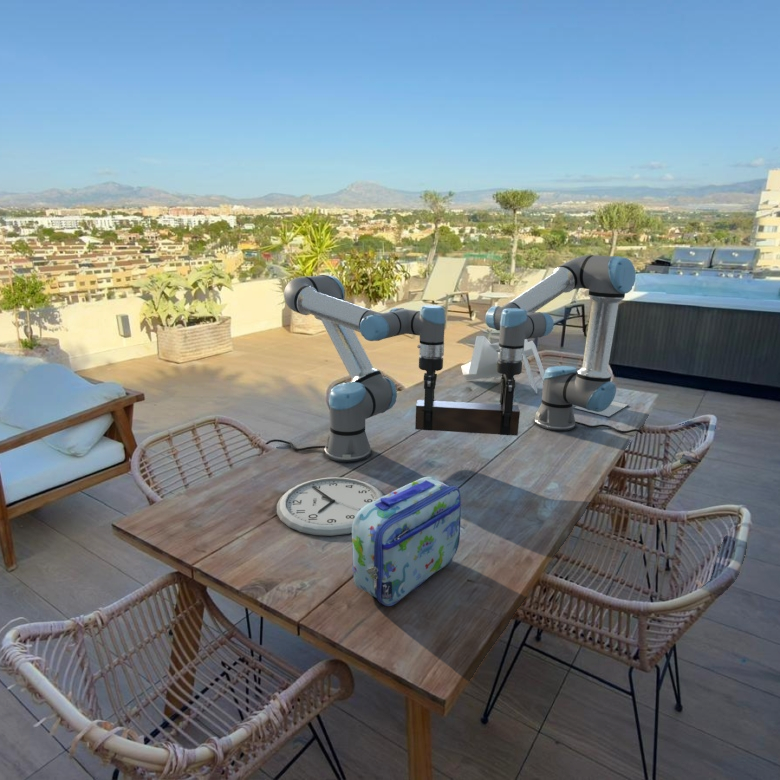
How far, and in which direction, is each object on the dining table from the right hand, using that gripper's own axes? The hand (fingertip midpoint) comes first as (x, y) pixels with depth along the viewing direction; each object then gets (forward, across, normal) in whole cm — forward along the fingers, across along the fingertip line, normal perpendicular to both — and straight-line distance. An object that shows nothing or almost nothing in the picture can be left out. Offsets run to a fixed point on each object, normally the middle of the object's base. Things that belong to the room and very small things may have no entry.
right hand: (503, 430), depth 166 cm
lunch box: (+12, +62, -25) cm, 68 cm away
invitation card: (+12, -65, +48) cm, 82 cm away
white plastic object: (+12, -87, +8) cm, 88 cm away
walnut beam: (0, 0, -12) cm, 12 cm away
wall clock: (+12, +34, -48) cm, 60 cm away
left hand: (0, 0, -24) cm, 24 cm away
